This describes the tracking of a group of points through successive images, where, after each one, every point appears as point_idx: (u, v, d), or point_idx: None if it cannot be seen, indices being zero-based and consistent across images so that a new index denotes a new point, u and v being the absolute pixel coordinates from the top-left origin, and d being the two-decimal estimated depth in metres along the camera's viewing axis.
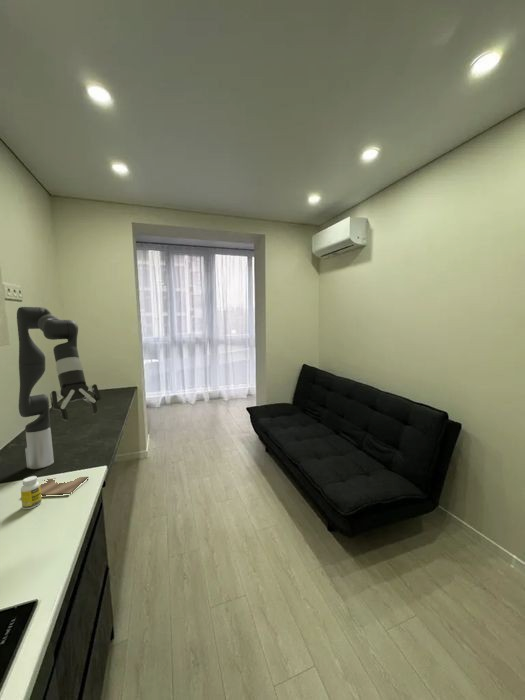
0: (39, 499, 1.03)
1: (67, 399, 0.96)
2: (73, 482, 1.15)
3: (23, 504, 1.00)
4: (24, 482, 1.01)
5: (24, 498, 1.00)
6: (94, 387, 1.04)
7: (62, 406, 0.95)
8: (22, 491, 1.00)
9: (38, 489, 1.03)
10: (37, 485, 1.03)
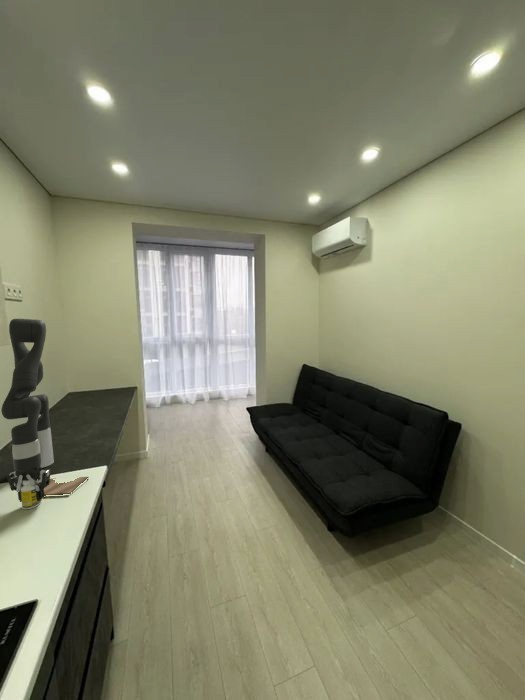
0: None
1: (18, 484, 1.01)
2: (73, 482, 1.15)
3: (23, 504, 1.00)
4: (24, 482, 1.01)
5: (24, 498, 1.00)
6: (43, 475, 1.01)
7: (17, 489, 1.01)
8: (22, 491, 1.00)
9: None
10: None
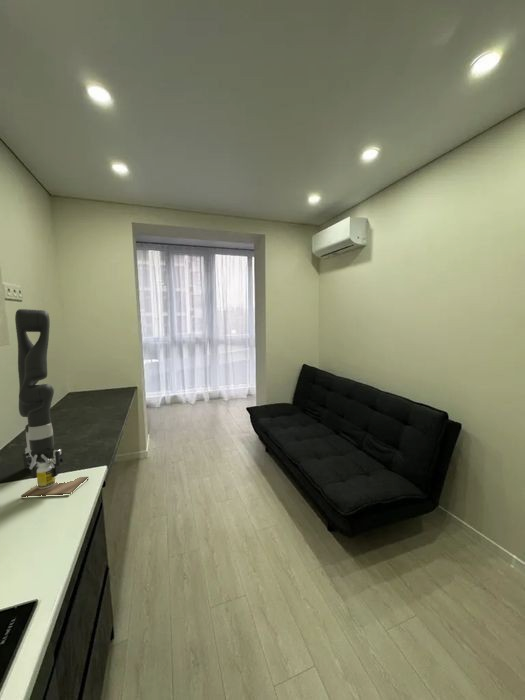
0: (53, 480, 1.14)
1: (32, 462, 1.11)
2: (73, 482, 1.15)
3: (38, 484, 1.11)
4: (40, 464, 1.12)
5: (39, 478, 1.11)
6: (56, 454, 1.12)
7: (30, 467, 1.12)
8: (38, 472, 1.11)
9: None
10: (51, 467, 1.14)
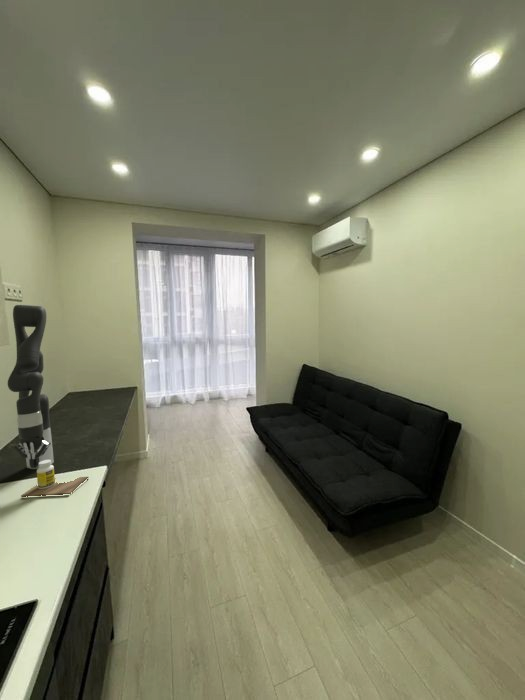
0: (53, 480, 1.14)
1: (26, 451, 1.11)
2: (73, 482, 1.15)
3: (38, 484, 1.11)
4: (40, 464, 1.11)
5: (39, 479, 1.11)
6: (43, 446, 1.11)
7: (28, 457, 1.12)
8: (38, 472, 1.11)
9: (52, 471, 1.14)
10: (51, 468, 1.13)
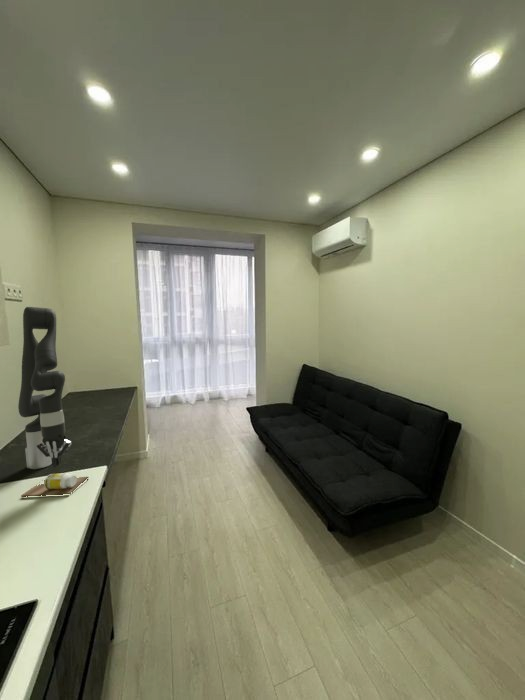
0: None
1: (49, 450, 1.11)
2: None
3: (48, 486, 1.09)
4: (69, 485, 1.10)
5: (55, 487, 1.09)
6: (65, 445, 1.12)
7: (51, 456, 1.12)
8: (60, 486, 1.09)
9: None
10: None
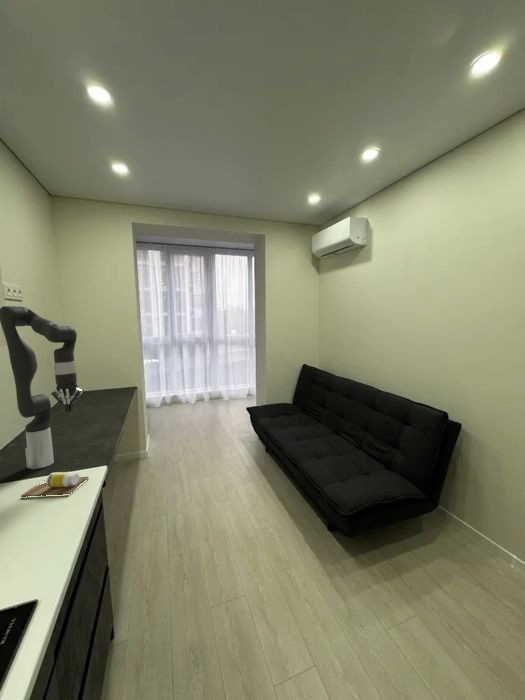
0: None
1: (62, 397, 1.23)
2: None
3: (51, 481, 1.10)
4: (71, 481, 1.11)
5: (56, 483, 1.10)
6: (77, 392, 1.24)
7: (64, 402, 1.24)
8: (62, 481, 1.10)
9: None
10: (70, 484, 1.13)
